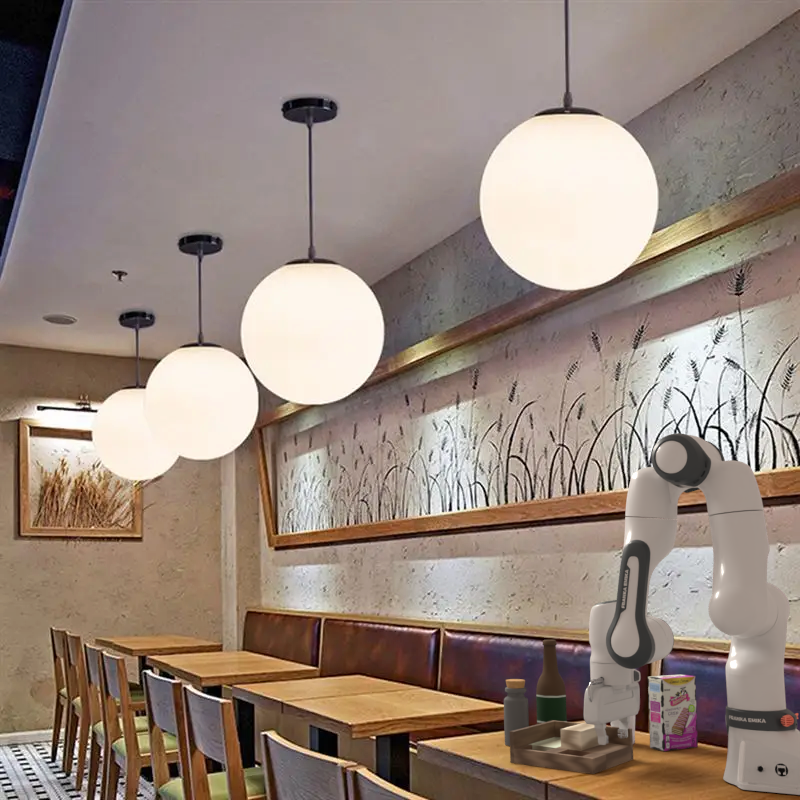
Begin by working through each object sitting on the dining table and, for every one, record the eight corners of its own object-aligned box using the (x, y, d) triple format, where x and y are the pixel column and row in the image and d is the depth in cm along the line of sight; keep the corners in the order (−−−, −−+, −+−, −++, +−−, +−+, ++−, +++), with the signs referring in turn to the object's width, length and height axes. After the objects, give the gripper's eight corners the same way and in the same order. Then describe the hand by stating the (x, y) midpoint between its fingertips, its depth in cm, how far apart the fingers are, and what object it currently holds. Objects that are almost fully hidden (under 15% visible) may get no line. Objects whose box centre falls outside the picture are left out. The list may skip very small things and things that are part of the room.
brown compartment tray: (633, 759, 217) (632, 728, 218) (593, 774, 203) (592, 741, 204) (553, 749, 229) (552, 720, 231) (510, 762, 215) (509, 731, 216)
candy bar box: (665, 752, 225) (661, 678, 228) (649, 748, 229) (646, 676, 232) (700, 747, 231) (696, 675, 233) (684, 744, 235) (680, 673, 238)
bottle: (500, 743, 237) (498, 679, 239) (520, 741, 239) (518, 678, 242) (513, 747, 232) (512, 681, 234) (534, 745, 234) (532, 680, 237)
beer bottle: (561, 744, 236) (557, 641, 239) (531, 741, 240) (528, 640, 243) (573, 739, 242) (570, 639, 246) (544, 736, 246) (541, 638, 250)
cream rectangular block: (604, 743, 220) (604, 724, 221) (581, 750, 212) (580, 731, 212) (584, 740, 223) (584, 722, 224) (561, 748, 215) (560, 729, 215)
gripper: (602, 681, 206) (604, 750, 203) (643, 672, 221) (646, 736, 219) (575, 679, 209) (577, 746, 207) (618, 670, 225) (620, 733, 223)
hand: (613, 741), depth 213 cm, fingers open, 8 cm apart
